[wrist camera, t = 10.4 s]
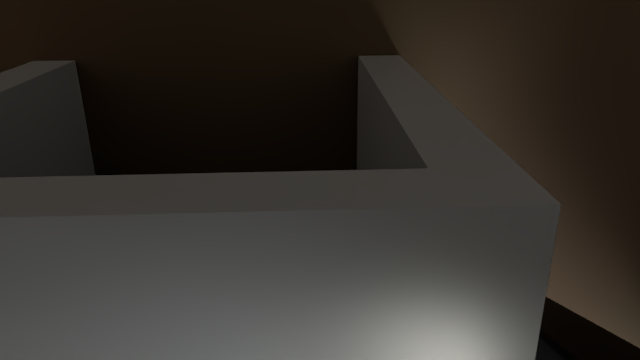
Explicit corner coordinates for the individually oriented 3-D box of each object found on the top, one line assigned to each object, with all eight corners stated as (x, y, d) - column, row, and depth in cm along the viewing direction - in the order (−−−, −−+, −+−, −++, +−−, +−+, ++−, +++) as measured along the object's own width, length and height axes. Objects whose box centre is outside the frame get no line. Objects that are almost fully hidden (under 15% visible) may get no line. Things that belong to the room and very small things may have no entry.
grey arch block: (399, 55, 10) (561, 204, 4) (387, 349, 13) (472, 732, 7) (32, 61, 10) (-432, 228, 4) (93, 358, 13) (-119, 761, 6)
